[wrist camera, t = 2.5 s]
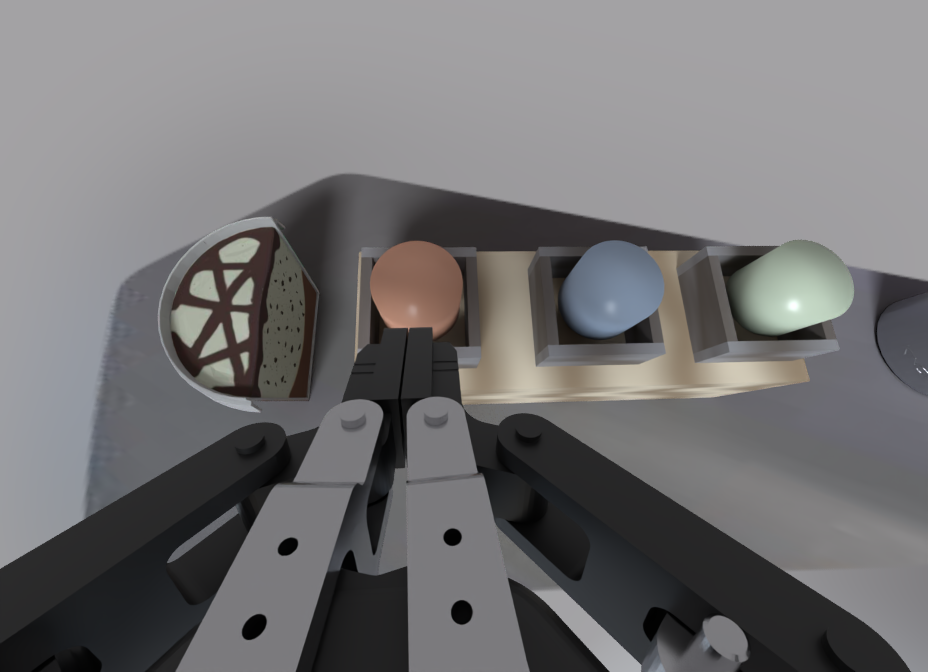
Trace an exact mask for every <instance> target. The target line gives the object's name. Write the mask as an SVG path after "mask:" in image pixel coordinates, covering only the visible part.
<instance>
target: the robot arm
mask: <svg viewBox="0 0 928 672" xmlns="http://www.w3.org/2000/svg"><path fill="white" fill-rule="evenodd" d="M877 337H878V344H879V347H880V350H881V353H882V355H883V357H884V359H885V361H886V362H887V364H888V365H889V367H890V368H891V369H892V371H893V372H894V373H895V374H896V375H897V376H898V377H899V378H900V379H901V380H902V381H903V382H904V383H906V384H907V385H908V386H910V387H911V388H913V389H914V390H916V391H918V392H920V393H923V394H925V395H928V292H927V293H923V294H920V295H917V296H914V297H910V298H907V299H904V300H901V301H898V302H895V303H893V304H891V305H890V306H889V307H887V308H886V309H885V311H884V312H883V313H882V314H881V317H880V319H879V322H878V327H877ZM405 459H407V468H408V481H407V483H406V501H407V566H406V567H403V568H400V569H397V570H394V571H391V572H388V573H385V574H381V575H378V570H379V562H380V557H381V552H382V547H383V542H384V537H385V532H386V527H387V522H388V517H389V512H390V507H391V502H392V496H393V489H392V485H393V481H394V472H395V468H405ZM234 506H236V508H237V510H238V512H239V513H238V514H237V515H236V516H234V517H233V518H232V519H230V520H229V521H228V522H226V523H225V524H224V525H222V526H221V527H220V528H218V529H217V530H216V531H214V532H213V533H212V534H210V535H209V536H208V537H206V538H205V539H204V540H202V541H201V542H200V543H198V544H197V545H196V546H194V547H193V548H192V549H190V550H189V551H188V552H186V553H185V554H184V555H182V556H181V557H180V558H178V559H176V560H175V561H173V562H170V563H167V561H168V559H169V557H170V556H171V555H172V553H173V552H174V551H175V550H176V549H177V548H178V547H179V546H180V545H182V544H183V543H184V542H186V541H187V540H188V539H190V538H191V537H193V536H194V535H195V534H197V533H198V532H199V531H201V530H202V529H204V528H205V527H206V526H208V525H209V524H210V523H212V522H213V521H215V520H216V519H217V518H219V517H220V516H221V515H223V514H224V513H225V512H227V511H228V510H230V509H231V508H232V507H234ZM495 523H496V525H497V526H498V527H499V529H500V530H501V531H502V532H503V533H504V534H506V535H507V536H508V537H509V538H510V539H511V540H512V541H513V542H514V543H515V544H516V545H517V546H518V547H519V548H520V549H521V550H522V551H523V552H524V553H525V554H526V555H527V556H528V557H530V558H531V559H532V560H533V561H534V562H535V563H536V564H537V565H538V566H539V567H540V568H541V569H542V570H543V571H544V572H545V573H546V574H547V575H548V576H549V577H550V578H551V579H552V580H553V581H555V582H556V583H557V584H558V585H559V586H560V587H561V588H562V589H563V590H564V591H565V592H566V593H567V594H568V595H569V596H570V597H571V598H572V599H573V600H574V601H575V602H576V603H578V605H580V606H581V607H582V608H583V609H584V610H585V611H586V612H587V613H588V614H589V615H590V616H591V617H592V618H593V619H594V620H595V621H596V622H597V623H598V624H599V625H600V626H601V627H603V628H604V629H605V630H606V631H607V632H608V633H609V634H610V635H611V636H612V637H613V638H614V639H615V640H616V641H617V642H618V643H619V644H620V645H621V646H623V648H624V649H626V651H628V652H629V653H630V654H631V655H632V656H633V657H634V658H635V659H636V660H637V661H638V662H639V663H640V664H641V665H642V666H641V672H911V671H910V670H909V668H908V667H907V665H906V664H905V662H904V661H903V660H902V659H901V657H900V656H899V655H898V653H897V652H896V651H895V650H894V649H893V648H892V647H891V646H890V645H889V644H888V643H887V642H886V641H885V640H884V639H883V638H882V637H881V636H880V635H879V634H878V633H877V632H875V631H874V630H873V629H872V628H870V627H869V626H868V625H866V624H865V623H864V622H862V621H861V620H859V619H858V618H856V617H855V616H853V615H852V614H850V613H849V612H847V611H846V610H844V609H842V608H841V607H839V606H838V605H836V604H835V603H833V602H831V601H830V600H828V599H827V598H825V597H823V596H822V595H821V594H819V593H817V592H816V591H814V590H813V589H811V588H810V587H808V586H806V585H805V584H803V583H802V582H800V581H799V580H797V579H795V578H794V577H792V576H791V575H789V574H788V573H786V572H784V571H783V570H781V569H780V568H778V567H777V566H775V565H774V564H772V563H770V562H769V561H767V560H766V559H764V558H763V557H761V556H759V555H758V554H756V553H755V552H753V551H752V550H750V549H748V548H747V547H745V546H744V545H742V544H741V543H739V542H737V541H736V540H734V539H733V538H731V537H730V536H728V535H727V534H725V533H723V532H722V531H720V530H719V529H717V528H716V527H714V526H712V525H711V524H709V523H708V522H706V521H705V520H703V519H701V518H700V517H698V516H697V515H695V514H694V513H692V512H690V511H689V510H687V509H686V508H684V507H683V506H681V505H679V504H678V503H676V502H675V501H673V500H672V499H670V498H669V497H667V496H665V495H664V494H662V493H661V492H659V491H658V490H656V489H654V488H653V487H651V486H650V485H648V484H647V483H645V482H643V481H642V480H640V479H639V478H637V477H636V476H634V475H632V474H631V473H629V472H628V471H626V470H625V469H623V468H622V467H620V466H618V465H617V464H615V463H614V462H612V461H611V460H609V459H607V458H606V457H604V456H603V455H601V454H600V453H598V452H596V451H595V450H593V449H592V448H590V447H589V446H587V445H585V444H584V443H582V442H581V441H579V440H578V439H576V438H575V437H573V436H571V435H570V434H568V433H567V432H565V431H564V430H562V429H560V428H559V427H557V426H556V425H554V424H553V423H551V422H549V421H548V420H546V419H544V418H542V417H540V416H537V415H534V414H526V413H521V414H514V415H511V416H509V417H507V418H505V419H504V420H503V421H502V422H501V423H500V424H499V426H498V425H493V424H488V423H484V422H481V421H478V420H476V419H474V418H473V417H471V416H470V415H469V414H468V413H467V412H466V411H465V410H464V408H463V405H462V398H461V388H460V378H459V367H458V357H457V350H456V349H455V348H454V347H453V345H452V344H451V343H450V342H433V328H432V327H412V328H409V331H408V328H384V331H383V335H382V339H381V343H380V344H367V345H366V346H365V347H364V348H363V349H362V350H361V351H360V352H359V353H358V354H357V357H356V360H355V363H354V366H353V369H352V372H351V375H350V378H349V381H348V385H347V388H346V391H345V394H344V397H343V400H342V403H341V404H339V405H337V406H335V407H333V408H332V409H331V410H330V411H329V412H328V413H327V414H326V415H325V417H324V419H323V421H322V423H321V425H320V426H319V427H317V428H315V429H312V430H309V431H305V432H301V433H298V434H294V435H290V436H286V434H285V431H284V430H283V428H282V427H281V426H279V425H277V424H274V423H255V424H251V425H248V426H245V427H242V428H240V429H238V430H236V431H234V432H232V433H231V434H229V435H227V436H226V437H224V438H222V439H220V440H219V441H217V442H215V443H214V444H212V445H210V446H208V447H207V448H205V449H203V450H202V451H200V452H198V453H197V454H195V455H193V456H191V457H190V458H188V459H186V460H185V461H183V462H181V463H180V464H178V465H176V466H174V467H173V468H171V469H169V470H168V471H166V472H164V473H163V474H161V475H159V476H157V477H156V478H154V479H152V480H151V481H149V482H147V483H146V484H144V485H142V486H140V487H139V488H137V489H135V490H134V491H132V492H130V493H129V494H127V495H125V496H123V497H122V498H120V499H118V500H117V501H115V502H113V503H112V504H110V505H108V506H106V507H105V508H103V509H101V510H100V511H98V512H96V513H95V514H93V515H91V516H89V517H88V518H86V519H84V520H83V521H81V522H79V523H78V524H76V525H74V526H72V527H71V528H69V529H67V530H66V531H64V532H62V533H61V534H59V535H57V536H55V537H54V538H52V539H50V540H49V541H47V542H45V543H44V544H42V545H40V546H38V547H37V548H35V549H33V550H32V551H30V552H28V553H26V554H25V555H23V556H22V557H20V558H18V559H16V560H15V561H13V562H11V563H9V564H8V565H6V566H4V567H3V568H1V569H0V672H609V671H608V670H607V668H606V667H605V666H604V665H603V664H602V663H601V662H600V661H599V660H598V659H597V658H596V656H595V655H594V654H593V653H592V652H591V651H590V650H589V649H588V648H587V647H586V646H585V645H584V643H583V642H582V641H581V640H580V639H579V638H578V637H577V636H576V635H575V634H574V633H573V632H572V631H571V629H570V628H569V627H568V626H567V625H566V624H565V623H564V622H563V621H562V619H561V618H560V617H559V616H558V615H557V614H556V613H555V612H554V611H553V610H552V609H551V608H550V607H549V606H548V605H547V604H546V603H545V602H544V601H543V600H542V599H541V598H540V597H538V596H537V595H536V594H535V593H534V592H532V591H531V590H529V589H528V588H526V587H525V586H523V585H522V584H520V583H518V582H516V581H514V580H512V579H510V578H507V573H506V569H505V565H504V560H503V556H502V552H501V547H500V543H499V539H498V534H497V530H496V526H495Z"/></svg>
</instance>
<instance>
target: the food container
mask: <svg viewBox="0 0 928 672" xmlns="http://www.w3.org/2000/svg"><path fill="white" fill-rule="evenodd" d="M280 229H285V226H284V225H283V224H282V223H280V222H279V221H278V220H277V219H273V218H272V217H257V218H252V219H246V220H241V221H238V222H235V223H232V224H229V225H226V226H224V227H222V228H220V229H218V230H216V231H214V232H212V233H211V234H209V235H207V236H206V237H204V238H203V239H201V240H200V241H199V242H198V243H196V244H195V245H194V246H193V247H192V248H190V249H189V250H188V251H187V253H186V254H185V255H184V256H183V257H182V258H181V259H180V260H179V261H178V263H177V264H176V266H175V267H174V269H173V270H172V272H171V273H170V275H169V277H168V279H167V281H166V284H165V286H164V288H163V292H162V295H161V298H160V302H159V310H158V329H159V334H160V338H161V342H162V345H163V348H164V350H165V352H166V354H167V356H168V358H169V360H170V362H171V363H172V365H173V366H174V368H175V369H176V370H177V372H178V373H179V375H180V376H181V377H182V378H183V379H185V380H186V381H187V382H188V383H189V384H190V385H191V386H192V387H194V388H195V389H197V390H198V391H200V392H201V393H203V394H205V395H206V396H208V397H209V398H211V399H213V400H214V401H216V402H218V403H221V404H223V405H225V406H228V407H230V408H235V409H239V410H243V411H250V412H262V409H260V408H259V407H257V406H256V405H254V404H253V401H309V396H310V385H311V375H312V365H313V354H314V344H315V333H316V323H317V313H318V302H319V290H318V289H317V287H316V286H315V284H314V282H313V281H312V279H311V278H310V276H309V274H308V273H307V271H306V270H305V268H304V266H303V265H302V263H301V262H300V260H299V258H298V257H297V255H296V254H295V252H294V251H293V249H292V247H291V246H290V244H289V243H288V241H287V239H286V238H285V236H284V235H283V233H282V231H281V230H280Z"/></svg>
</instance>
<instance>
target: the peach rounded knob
mask: <svg viewBox="0 0 928 672" xmlns="http://www.w3.org/2000/svg"><path fill="white" fill-rule="evenodd" d="M462 287H463V280H462V274H461V270H460V268H459V265H458V264H457V262H456V260H455V259H454V258H453V256H452V255H451V254H450V253H449V252H447V251H446V250H445V249H443V248H441V247H440V246H438V245H435V244H433V243H429V242H425V241H409V242H404V243H401V244H398V245H396V246H394V247H392V248H390V249H389V250H387V251H386V252H385V253H384V254H383V255H382V256H381V257H380V258H379V259H378V261H377V262H376V264H375V266H374V268H373V270H372V273H371V277H370V290H371V295H372V298H373V300H374V302H375V304H376V306H377V309H378V311H379V313H380V315H381V317H382V319H383V321H384V323H385V325H386V326H387V328H408V331H409V328H412V327H432V328H433V341H435V340H437V339H439V338H441V337H443V336H444V335H446V334H447V333H448V332H449V331H450V330H451V329H452V327H453V326H454V324H455V323H456V321H457V318H458V315H459V310H460V303H461V295H462Z"/></svg>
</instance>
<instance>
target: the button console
mask: <svg viewBox="0 0 928 672" xmlns="http://www.w3.org/2000/svg"><path fill="white" fill-rule="evenodd" d="M777 247H779V246H706V247H705V248H703V249H702V250H701V251H648V249H647V246H644V247H640V248H642V249H643V250H644V251H646V252H647V253H648V254H649V255H650V256H651V257H652V258H653V259H654V260H655V262H656V263H657V264H658V266H659V268H660V270H661V273H662V275H663V279H664V295H663V298H662V301H661V303H660V305H659V307H658V308H657V310H656V311H655V312H654V313H653V314H651V315H650V316H649V317H647V318H646V319H644V320H642V321H641V322H639V323H637V324H636V325H634V326H632V327H631V328H629V329H627V330H626V331H624V332H622V333H621V334H619V335H617V336H616V337H613V338H611V339H606V340H593V339H589V338H585V337H583V336H581V335H579V334H577V333H576V332H575V331H573V330H572V329H571V328H570V327H569V326H568V325H567V324H566V322H565V321H564V319H563V318H562V316H561V314H560V311H559V307H558V293H559V289H560V287H561V285H562V283H563V281H564V280H565V279H566V277H567V276H568V275H569V273H570V272H571V271H572V269H573V268H574V267H575V266H576V264H577V263H578V262H579V260H580V259H581V258H582V256H583V255H584V254H585V253H586V251H588V250H589V249H590V248H591V247H538V249H537V251H499V252H476V247H441V248H443V249H445V250H446V251H447V252H449V253H450V254H451V255H452V256H453V258H454V259H455V260H456V262H457V264H458V265H459V268H460V270H461V274H462V280H463V287H462V295H461V303H460V310H459V315H458V318H457V321H456V323H455V324H454V326H453V327H452V329H451V330H450V331H449V332H448V333H447V334H446V335H444V336H443V337H441V338H439V339H437V340H435V341H433V342H450V343H451V344H452V345H453V347H454V348H455V349H456V350H457V357H458V367H459V378H460V388H461V398H462V405H464V404H499V403H533V402H568V401H602V400H637V399H672V398H706V397H717V396H723V395H729V394H735V393H741V392H747V391H753V390H759V389H765V388H771V387H777V386H783V385H789V384H795V383H802V382H808V381H810V379H809V376H808V372H807V368H806V365H805V361H804V358H807V357H811V356H816V355H820V354H824V353H829V352H833V351H837V350H840V348H839V345H838V342H837V338H836V335H835V332H834V329H833V325H832V322H831V319H830V320H827V321H824V322H820V323H817V324H814V325H811V326H808V327H805V328H801V329H798V330H795V331H792V332H789V333H786V334H782V335H779V336H775V337H765V336H760V335H756V334H754V333H752V332H750V331H748V330H746V329H745V328H743V327H742V326H741V325H740V324H739V323H738V322H737V321H736V320H735V319H734V318H733V316H732V314H731V309H730V305H729V301H728V296H727V292H726V288H725V287H726V284H727V281H728V280H729V278H730V277H731V276H732V274H733V273H735V272H736V271H738V270H739V269H741V268H743V267H745V266H746V265H748V264H750V263H752V262H753V261H755V260H757V259H758V258H760V257H762V256H764V255H765V254H767V253H769V252H770V251H772V250H774V249H776V248H777ZM390 248H392V247H362V252H359V269H358V292H357V316H356V339H355V360H356V357H357V354H358V353H359V352H360V351H361V350H362V349H363V348H364V347H365V346H366V345H367V344H380V343H381V339H382V335H383V331H384V328H387V326H386V325H385V323H384V321H383V319H382V317H381V315H380V313H379V311H378V309H377V306H376V304H375V302H374V300H373V298H372V295H371V290H370V277H371V273H372V270H373V268H374V266H375V264H376V262H377V261H378V259H379V258H380V257H381V256H382V255H383V254H384V253H385V252H386V251H387V250H389V249H390Z"/></svg>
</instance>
